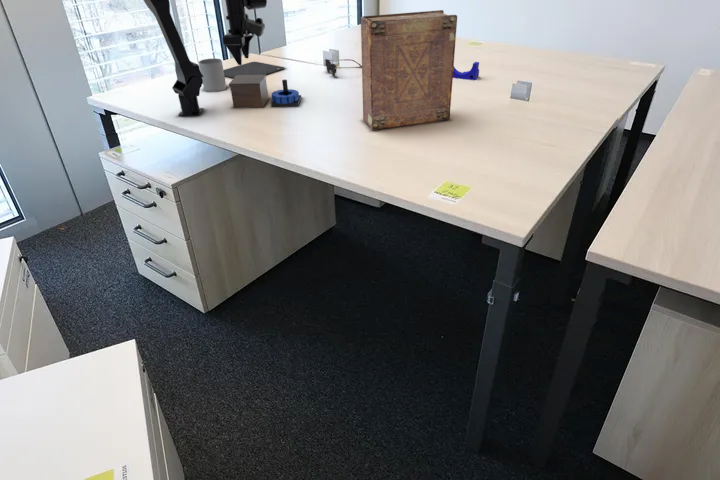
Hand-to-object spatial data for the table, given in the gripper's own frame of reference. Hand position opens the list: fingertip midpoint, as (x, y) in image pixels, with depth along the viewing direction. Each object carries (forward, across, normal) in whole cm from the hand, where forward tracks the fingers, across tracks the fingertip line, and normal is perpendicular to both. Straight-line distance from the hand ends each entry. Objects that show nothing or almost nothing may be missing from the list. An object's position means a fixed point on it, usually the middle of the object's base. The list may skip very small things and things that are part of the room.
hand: (243, 61), depth 164 cm
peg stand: (+13, -4, -14) cm, 20 cm away
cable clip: (+13, +26, -78) cm, 84 cm away
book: (+13, -22, -55) cm, 61 cm away
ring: (+12, -5, -14) cm, 19 cm away
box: (+13, -5, -2) cm, 14 cm away
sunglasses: (+13, +34, -33) cm, 49 cm away
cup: (+13, +13, +16) cm, 25 cm away
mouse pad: (+13, +37, +9) cm, 40 cm away
